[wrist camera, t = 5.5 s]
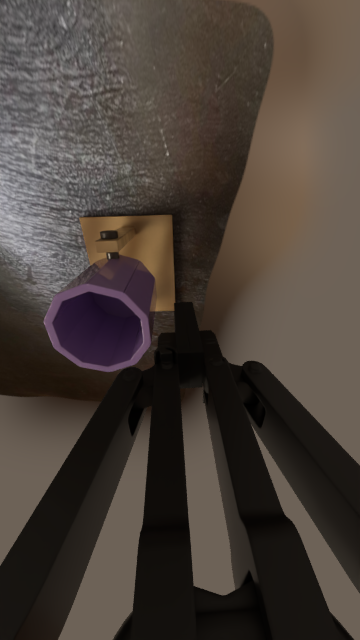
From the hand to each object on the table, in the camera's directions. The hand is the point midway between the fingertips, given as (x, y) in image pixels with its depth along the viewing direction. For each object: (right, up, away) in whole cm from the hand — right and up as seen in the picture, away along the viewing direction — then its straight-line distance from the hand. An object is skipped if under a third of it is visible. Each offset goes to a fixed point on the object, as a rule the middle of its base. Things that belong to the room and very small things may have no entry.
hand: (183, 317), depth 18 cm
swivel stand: (-7, +8, +14) cm, 17 cm away
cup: (-7, +3, +6) cm, 10 cm away
